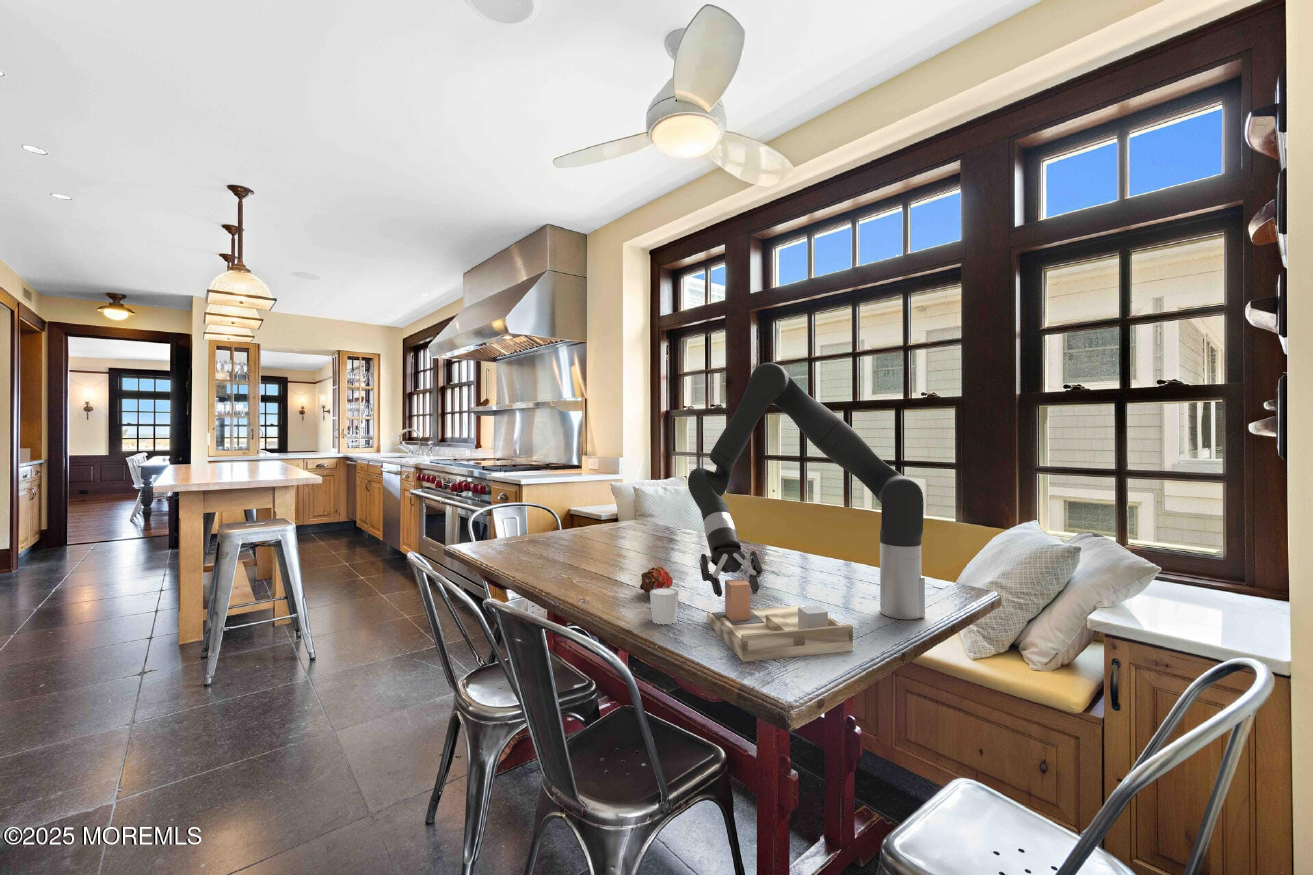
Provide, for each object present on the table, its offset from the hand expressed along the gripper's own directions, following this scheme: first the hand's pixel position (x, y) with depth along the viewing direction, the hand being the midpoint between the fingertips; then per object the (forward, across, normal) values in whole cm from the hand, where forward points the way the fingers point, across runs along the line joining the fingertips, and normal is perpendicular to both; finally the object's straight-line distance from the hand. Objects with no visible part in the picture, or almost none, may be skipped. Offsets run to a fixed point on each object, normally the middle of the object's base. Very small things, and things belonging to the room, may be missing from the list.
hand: (738, 593), depth 131 cm
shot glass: (0, -15, +12) cm, 19 cm away
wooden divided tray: (+10, +6, +1) cm, 12 cm away
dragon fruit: (-15, -13, +26) cm, 33 cm away
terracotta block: (+4, 0, +4) cm, 5 cm away
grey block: (+13, +12, -5) cm, 18 cm away
